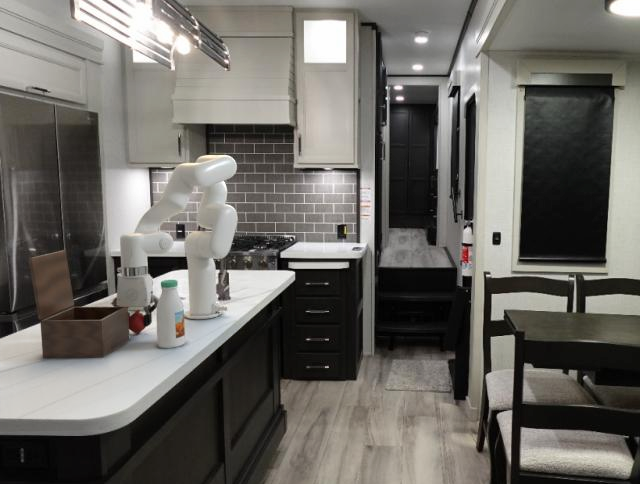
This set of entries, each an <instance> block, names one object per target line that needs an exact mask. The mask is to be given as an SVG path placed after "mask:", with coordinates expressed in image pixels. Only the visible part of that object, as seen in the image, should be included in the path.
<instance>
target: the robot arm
mask: <svg viewBox="0 0 640 484" xmlns="http://www.w3.org/2000/svg"><path fill="white" fill-rule="evenodd" d="M237 170H238V165H237V161H236V160H235V159H234V158H233V156H230V155H227V154H205V155H201V156H199V157H198V158H197V159H196V160H195V162H183V163H180V164H177V166H176V167H174V169H173V170H172V173H171V175H170V178H169V180H168V181H167V183H166V186H165V188H164V190H163V192H162V194H161V196H160V198H159V200H157V202H155V203H154V204H153V205H152V206H151V207H150V208H149V209H148V210H147V211H146V212H144V214H143V215H142V216H141V218H140V219H139V222H138V223H137V225H136V227H135V230H134V231H133V232H127V233H123V234H121V235H120V237H119V248H120V250H119V251H120V267H117V269H116V271H117V272H118V273H121V274H122V275H121V276H119V279H118V281H117V285H116V287H117V288H116V297H115V298H114V299H113V300H112V302H111V305H112V307H128V316H129V317H130V316H131V313H130V312H129V307H143V308H144V314H143V315H144V326H145V328H147V327H149V326H150V325H151V324H152V322H153V314H152V313H153V312H154V311H155V310H157V304H158V301H159V299H160V298H158V297H157V296H156V295H155V292H154V284H153V285H152V280H151V277H152V276H151V274H150V273H149V266H148V264H149V263H148V255H162V254H165V253H168V252H169V251H171V249H172V248H173V246H174V238H173V236H172V235H171V234H170V233H168V232H165V231H161V230H159V229H160V227H161V226H162V225H163V224H164V223H165V222H166V221H167V220H169V219H171V218H172V217H174V216H176V215H179V214H181V213H182V212H183V211H185V210H186V208H187V206H188V203H189V201H190V200H191V199H190V198H191V197H192V194H193V192H194V191H195V188H201V189H202V188H203V190H202V191H203V192H202V194H201V195H202V196H201V199H200V202H199V205H198V209H197V213H196V223H197V225H198V226H199V227H201V228H203V229H207V230H211V231H205V230H196V231H192V232H190V233H189V234H188V235H187V236H186V237H185V239H184V245H183V247H184V252H185V256H186V262H187V274H188V275H187V276H188V278H187V279H188V305H189V306H188V308H189V310H188V311H186V312H184V318H186V319H190V320H207V319H212V318H213V319H214V318H216V317H219V316H221V315H222V312H228V311H229V306H228V305H227V304H220V301H219V300H218V299H217V270H216V263H215V260H221V259H223V258H226V256H228V254H229V253H230V251H231V248H232V245H233V241H234V238H235V233H236V230H237V226H238V221H239V218H238V217H239V216H238V213H237V212H238V211H237V210H236V209H235V208H234V207H233V206H232V205H230V204H226V202H227V197H228V187H227V185H226V183H225V181H227V180H229V179H231V178H232V177H234V176H235V174H236V172H237ZM151 303H154V305H153V306H152V307H151V305H150V304H151Z"/></svg>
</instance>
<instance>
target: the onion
mask: <svg viewBox="0 0 640 484" xmlns="http://www.w3.org/2000/svg"><path fill="white" fill-rule="evenodd" d="M144 315H145V314H143V313H142V312H140V310H134V312H133V313H132V314H130V317H129V331H130V332H133V333H135V334H136V335H139V334H141V333H142V331H143V330H144V329H146V327H145V326H144Z"/></svg>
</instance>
